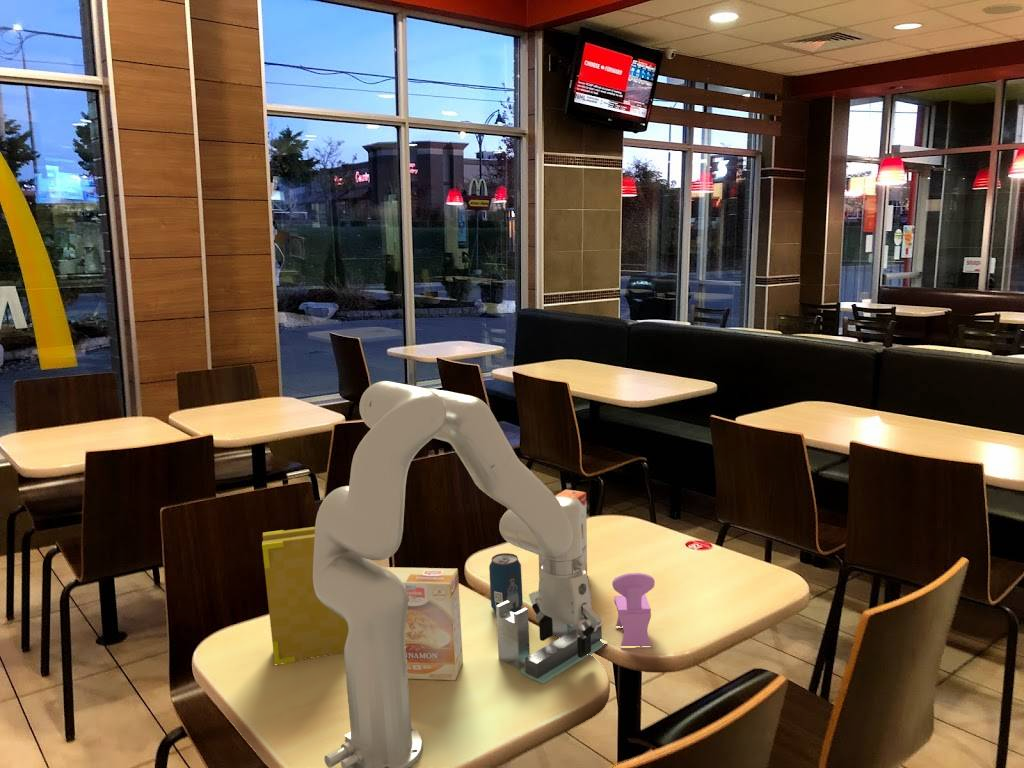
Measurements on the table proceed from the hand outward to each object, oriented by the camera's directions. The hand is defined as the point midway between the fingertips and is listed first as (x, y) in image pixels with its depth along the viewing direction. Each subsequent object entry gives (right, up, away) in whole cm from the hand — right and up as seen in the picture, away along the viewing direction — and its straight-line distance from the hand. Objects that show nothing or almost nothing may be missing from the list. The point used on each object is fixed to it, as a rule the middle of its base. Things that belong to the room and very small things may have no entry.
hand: (565, 646), depth 154 cm
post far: (0, -1, +10) cm, 10 cm away
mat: (0, -2, 0) cm, 2 cm away
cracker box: (+2, +4, +33) cm, 33 cm away
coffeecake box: (-27, -4, -1) cm, 28 cm away
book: (-49, -3, +8) cm, 50 cm away
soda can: (-11, +1, +21) cm, 24 cm away
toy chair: (+14, -1, +7) cm, 16 cm away
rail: (0, -2, 0) cm, 2 cm away
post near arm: (-10, -3, 0) cm, 10 cm away
